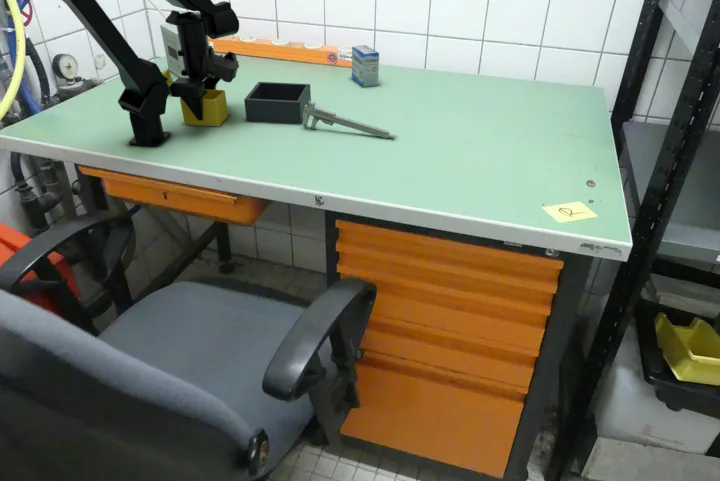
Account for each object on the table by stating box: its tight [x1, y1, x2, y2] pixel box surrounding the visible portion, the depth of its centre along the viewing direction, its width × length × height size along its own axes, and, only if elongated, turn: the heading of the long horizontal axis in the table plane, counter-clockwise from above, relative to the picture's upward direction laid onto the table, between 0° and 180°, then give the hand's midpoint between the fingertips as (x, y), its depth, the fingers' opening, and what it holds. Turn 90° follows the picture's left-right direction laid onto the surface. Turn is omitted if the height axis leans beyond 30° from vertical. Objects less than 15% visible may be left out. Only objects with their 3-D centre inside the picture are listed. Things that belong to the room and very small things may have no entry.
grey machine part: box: [159, 11, 210, 78], centre depth 145 cm, size 12×14×15 cm
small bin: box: [179, 89, 229, 127], centre depth 119 cm, size 6×8×6 cm
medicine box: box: [351, 44, 380, 88], centre depth 141 cm, size 8×4×9 cm, turn 25°
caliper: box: [302, 100, 395, 140], centre depth 114 cm, size 20×1×6 cm, turn 75°
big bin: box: [243, 81, 312, 125], centre depth 123 cm, size 12×13×5 cm
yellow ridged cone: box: [161, 69, 175, 94], centre depth 133 cm, size 5×5×10 cm
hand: (205, 114), depth 120 cm, fingers closed on small bin, 6 cm apart
